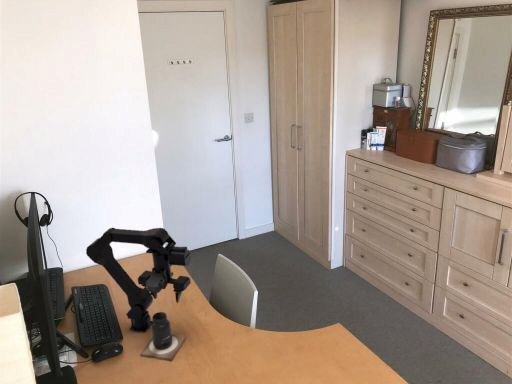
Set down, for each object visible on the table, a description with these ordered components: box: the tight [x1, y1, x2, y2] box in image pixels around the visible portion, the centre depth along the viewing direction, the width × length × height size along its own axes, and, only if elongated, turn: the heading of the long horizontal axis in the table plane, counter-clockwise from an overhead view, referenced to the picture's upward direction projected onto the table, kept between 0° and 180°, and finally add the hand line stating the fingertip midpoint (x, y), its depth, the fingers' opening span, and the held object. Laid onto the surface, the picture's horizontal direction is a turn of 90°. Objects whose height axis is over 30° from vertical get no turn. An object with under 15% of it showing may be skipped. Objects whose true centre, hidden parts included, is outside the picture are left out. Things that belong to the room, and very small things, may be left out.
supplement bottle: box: [150, 311, 173, 350], centre depth 157 cm, size 7×7×12 cm
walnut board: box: [140, 333, 187, 362], centre depth 159 cm, size 12×12×1 cm
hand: (166, 300), depth 164 cm, fingers open, 9 cm apart
